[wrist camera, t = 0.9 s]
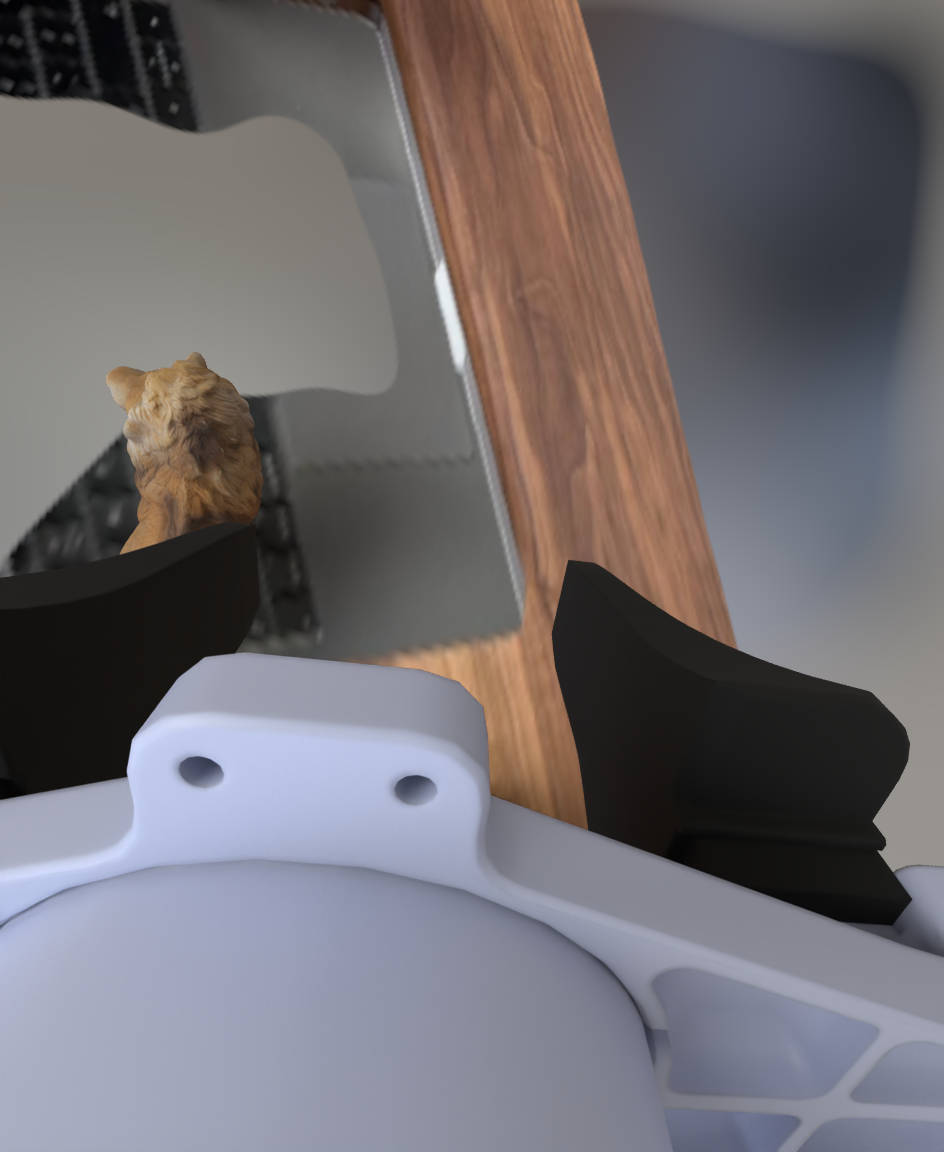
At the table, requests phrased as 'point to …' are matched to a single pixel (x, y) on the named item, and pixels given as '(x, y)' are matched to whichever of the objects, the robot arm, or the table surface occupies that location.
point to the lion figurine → (187, 449)
